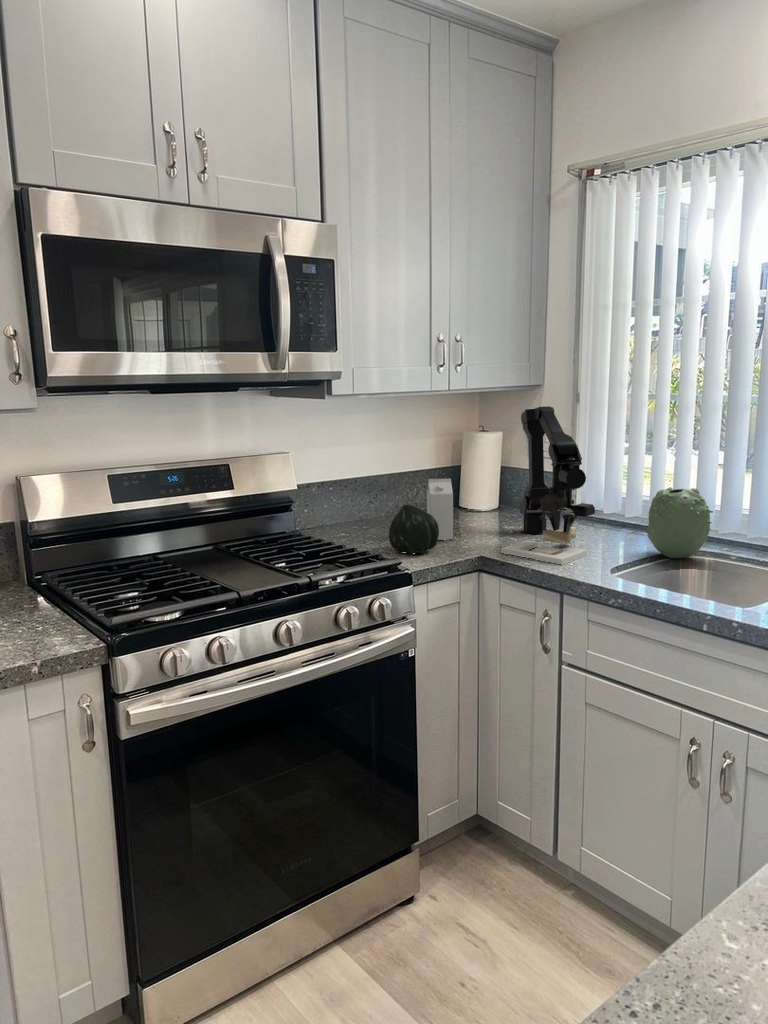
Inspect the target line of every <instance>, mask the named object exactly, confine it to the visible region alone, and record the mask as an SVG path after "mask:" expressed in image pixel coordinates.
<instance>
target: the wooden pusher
mask: <svg viewBox="0 0 768 1024" xmlns="http://www.w3.org/2000/svg"><path fill="white" fill-rule="evenodd" d="M563 530H564V527H562V528H559V530H555V531H554V530H553V529H547V528H546V530H543V533H542V541H543V542H544V541H545V542H551V543H556V544H562V545H569V544H571V540H572V539H575V538H576V537H577V527H574V526H571V528H570V530H569V532H568V533H566V532H563Z"/></svg>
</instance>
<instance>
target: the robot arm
mask: <svg viewBox="0 0 768 1024" xmlns="http://www.w3.org/2000/svg"><path fill="white" fill-rule="evenodd" d="M556 416H557V415H556V414H555V409H554V407H553V406H547V405H546V406H538V407H535V408H526V409H524V411H523V412H521V415H520V422H521V424H522V430H523V431H524V433H525V434H526V436H527V441H528V442H527V443H528V452H527V453H528V484H527V486H526V488H525V489H524V490H523V497H522V499H521V502H520V504H519V513H520V514H521V515H523V527H522V528H523V529H522V530H520V533H523V534H530V535H535V536H537V535H538V536H539V535H541V534H542V535H543V530H546V529H547V521H548V520H547V518H548V519H549V522H550V523H551V526H552V530H553V531H555V530H559V529H560V523H561V516H562V519H563V528H564V530H563V532H566V533H568V532H569V530H570V528H571V527H573V524H574V522H575V520H576V519H577V517H589V516H593V515H595V514H596V508H595V506H594V504H592V503H583V502H581V503H579V504H575V500H574V499H573V491H574V490H576V489H580V488H582V487H583V486H584V485H585V483H586V481H587V476H586V473H585V471H584V470H583V469H580V466H582V464H583V462H582V460H583V458H582V455H581V453H580V449H579V447H578V444H577V443H576V441H575V439H574V438H573V437H572V436H571V435H569V434H566V433H565V432H564V430H563V428H562V426H561V424H560V423H559V420H558V418H557V417H556ZM545 435H546V437H547V440H548V442H549V446H548V449H547V451H548V455H549V458H550V460H551V464H550V465H551V466H552V474H551V475H552V476H551V477H552V479H551V480H552V481H551V482H552V483H551V486H550V487H548V486H547V484H546V483H545V462H544V461H545V457H544V454H545V452H544V436H545ZM562 511H565V514H562V515H561V513H562ZM546 517H547V518H546Z"/></svg>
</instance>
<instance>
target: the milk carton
mask: <svg viewBox="0 0 768 1024" xmlns="http://www.w3.org/2000/svg"><path fill="white" fill-rule="evenodd" d="M452 485H453V484H452V478H428V482H427V488H426V513H428V514H430V515H431V516H432V517H434V519H435V520H436V522H437V524H438V528H439V536H438V539H453V540H454V529H453V528H454V493H453V492H454V491H453V486H452Z"/></svg>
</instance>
